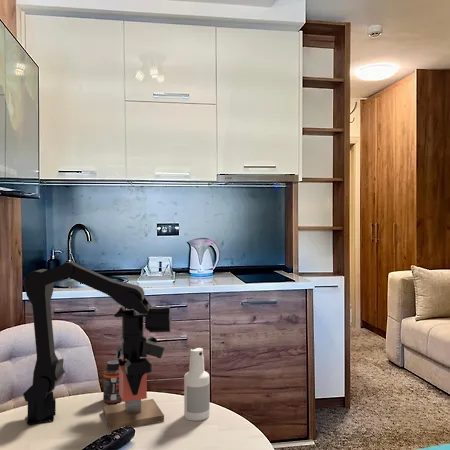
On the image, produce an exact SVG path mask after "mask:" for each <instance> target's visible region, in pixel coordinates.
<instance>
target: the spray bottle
mask: <svg viewBox="0 0 450 450" xmlns="http://www.w3.org/2000/svg"><path fill="white" fill-rule="evenodd" d="M188 367H189V368H188V369H189V370H188V371H187V372H186V373H185V374H184V377H183V378H184V379H183V381H184V384H183V388H184V389H183V391H184V393H183V394H184V396H183V401H184V403H183V408H184V409H183V413H184V414H183V415H184V418H185V419H187V420H188V421H192V422H193V421H194V422H200V421H204V420H206V419H208V418H209V417H210V414H211V413H210V405H211V404H210V403H211V402H210V401H211V400H210V397H211V396H210V394H211V392H210V390H211V389H210V388H211V387H210V374H209V372H207V371H205V356H204V348H202V347H196V348H194V349H192V348H191V349H190V356H189V366H188Z"/></svg>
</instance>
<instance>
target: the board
mask: <svg viewBox="0 0 450 450" xmlns="http://www.w3.org/2000/svg"><path fill="white" fill-rule="evenodd" d="M102 413H103V415H104V419H105V421H106V424H107V426H108V430H109V431H116V430H119V429H118V428H121V427H124V426H130V427H129V428H133V427H138V426H142V425H149V424H154V423H155V424H156V423H161V422H165V414H164V413H163V412H162V410H161V408H160V407H159V406H158V404H157V402H156V401H155V399H154V398H151V399H142V400H141V412H140V413H134V414H128V415H127V412H126V410H125V402H123V403H120V404H119V403H117V404H112V405H106V406H103V412H102Z"/></svg>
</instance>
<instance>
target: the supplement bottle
mask: <svg viewBox="0 0 450 450" xmlns="http://www.w3.org/2000/svg"><path fill="white" fill-rule="evenodd" d="M119 366H120V365H119V362H118V359H114V360H108V361H107V362H106V369H104V370H103V381H102V383H103V389H102V391H103V392H102V393H103V395H102V396H103V397H102V398H103V402H104V403H107V404H119V403H121V402H123V401H122V399H121V397H120V395H119Z"/></svg>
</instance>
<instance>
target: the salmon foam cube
mask: <svg viewBox="0 0 450 450" xmlns="http://www.w3.org/2000/svg"><path fill="white" fill-rule="evenodd" d="M124 370H125V365H123V366H119V395H120V397H121V399H122V401H121V402H123V403H125V402H126V401H133V400H139V399H141V400H147V399H148V398H147V397H148V396H147V395H148V393H147V392H148V390H147V389H148V387H147V386H148V385H147V384H148V383H147V381H148V380H147V379H148V377H147V376H148V373H145V374H144V375H143V376H142V379H141V382H140V386H139V390H138V394H137V395H133V394H132V391H131V388H130V386H129V383H128V380H127V378H126V375H125V372H124Z"/></svg>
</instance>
